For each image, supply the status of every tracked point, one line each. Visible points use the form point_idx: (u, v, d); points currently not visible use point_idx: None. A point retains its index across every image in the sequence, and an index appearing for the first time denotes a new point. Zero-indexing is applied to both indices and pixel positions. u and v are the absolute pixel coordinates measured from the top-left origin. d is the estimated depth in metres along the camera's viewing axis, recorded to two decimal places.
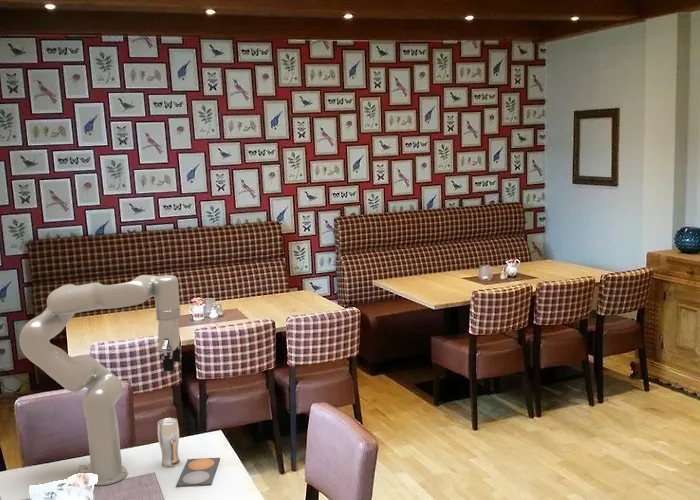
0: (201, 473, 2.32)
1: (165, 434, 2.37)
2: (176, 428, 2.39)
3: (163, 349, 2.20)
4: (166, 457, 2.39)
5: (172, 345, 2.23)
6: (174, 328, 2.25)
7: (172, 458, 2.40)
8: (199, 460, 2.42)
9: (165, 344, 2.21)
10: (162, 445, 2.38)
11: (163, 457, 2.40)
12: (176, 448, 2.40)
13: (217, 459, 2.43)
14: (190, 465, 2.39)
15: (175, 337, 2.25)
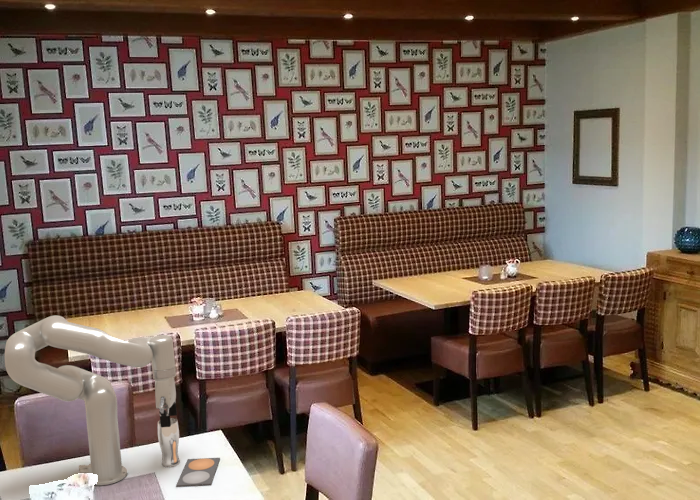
0: (201, 473, 2.32)
1: (165, 434, 2.37)
2: (176, 428, 2.39)
3: (160, 407, 2.31)
4: (166, 457, 2.39)
5: (168, 403, 2.34)
6: (170, 386, 2.36)
7: (172, 458, 2.40)
8: (199, 460, 2.42)
9: (162, 402, 2.32)
10: (162, 445, 2.38)
11: (163, 457, 2.40)
12: (176, 448, 2.40)
13: (217, 459, 2.43)
14: (190, 465, 2.39)
15: (171, 394, 2.36)
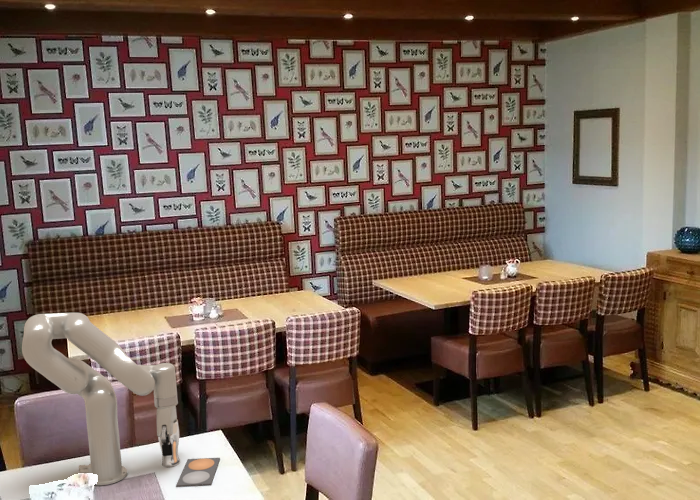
0: (201, 473, 2.32)
1: None
2: (176, 428, 2.39)
3: (162, 439, 2.33)
4: (166, 457, 2.39)
5: (169, 431, 2.36)
6: (171, 414, 2.37)
7: (173, 458, 2.40)
8: (199, 460, 2.42)
9: (163, 433, 2.34)
10: None
11: (163, 457, 2.40)
12: (176, 448, 2.40)
13: (217, 459, 2.43)
14: (190, 465, 2.39)
15: (172, 422, 2.38)
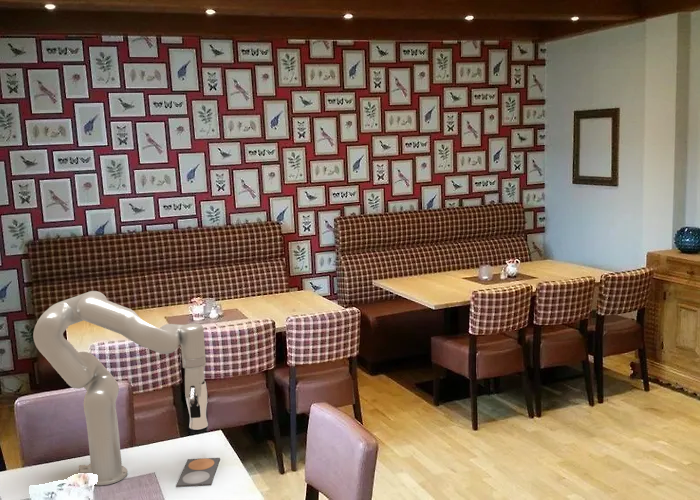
0: (201, 473, 2.32)
1: None
2: (204, 389, 2.34)
3: (190, 399, 2.28)
4: (194, 419, 2.34)
5: (198, 392, 2.31)
6: (200, 375, 2.32)
7: (201, 420, 2.35)
8: (199, 460, 2.42)
9: (192, 394, 2.29)
10: None
11: (191, 419, 2.35)
12: (204, 410, 2.35)
13: (217, 459, 2.43)
14: (190, 465, 2.39)
15: (201, 384, 2.33)
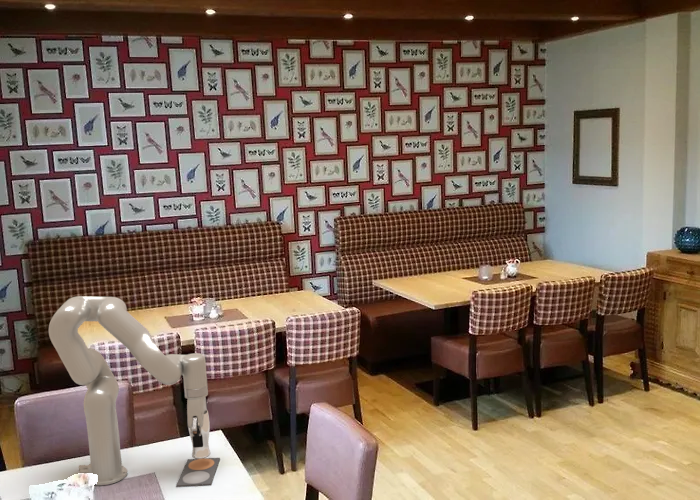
0: (201, 473, 2.32)
1: None
2: (207, 419, 2.36)
3: (193, 430, 2.29)
4: (197, 448, 2.36)
5: (200, 422, 2.32)
6: (202, 405, 2.33)
7: (203, 449, 2.37)
8: (199, 460, 2.42)
9: (194, 424, 2.30)
10: None
11: (194, 449, 2.37)
12: (207, 439, 2.37)
13: (217, 459, 2.43)
14: (190, 465, 2.39)
15: (203, 413, 2.34)
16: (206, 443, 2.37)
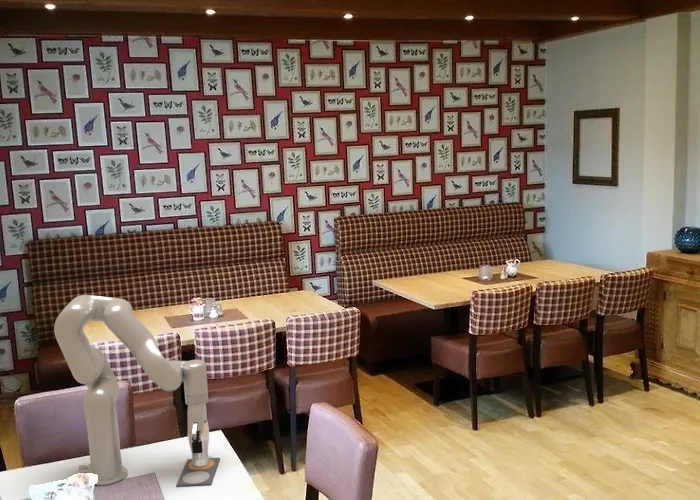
0: (201, 473, 2.32)
1: None
2: (206, 428, 2.36)
3: (193, 434, 2.29)
4: (196, 458, 2.36)
5: (201, 428, 2.33)
6: (202, 411, 2.34)
7: (203, 458, 2.37)
8: None
9: (194, 429, 2.30)
10: None
11: (193, 458, 2.37)
12: (206, 448, 2.37)
13: (217, 459, 2.43)
14: (190, 465, 2.39)
15: (203, 420, 2.34)
16: (205, 452, 2.37)
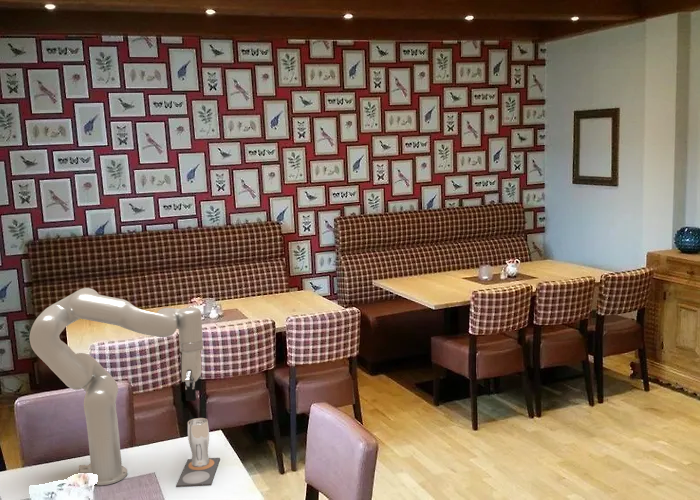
0: (201, 473, 2.32)
1: (195, 435, 2.34)
2: (206, 428, 2.36)
3: (186, 380, 2.27)
4: (196, 458, 2.36)
5: (194, 376, 2.31)
6: (197, 359, 2.32)
7: (203, 458, 2.37)
8: None
9: (188, 375, 2.28)
10: (192, 445, 2.35)
11: (193, 458, 2.37)
12: (206, 448, 2.37)
13: (217, 459, 2.43)
14: (190, 465, 2.39)
15: (197, 368, 2.33)
16: (205, 452, 2.37)
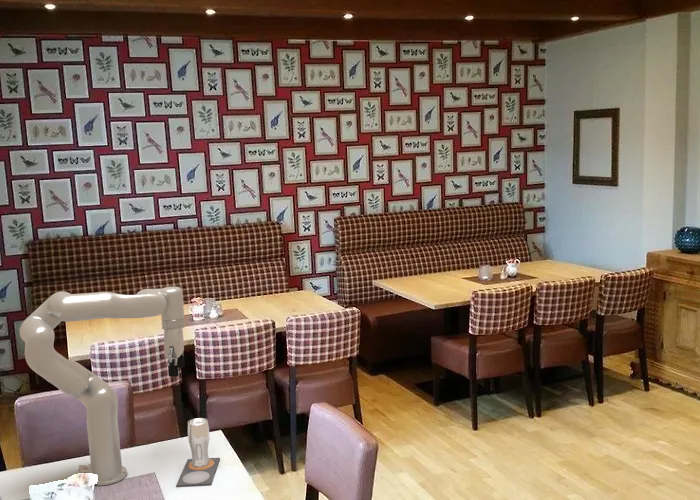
0: (201, 473, 2.32)
1: (195, 435, 2.34)
2: (206, 428, 2.36)
3: (168, 356, 2.34)
4: (196, 458, 2.36)
5: (177, 352, 2.38)
6: (179, 336, 2.39)
7: (203, 458, 2.37)
8: None
9: (170, 351, 2.36)
10: (192, 445, 2.35)
11: (193, 458, 2.37)
12: (206, 448, 2.37)
13: (217, 459, 2.43)
14: (190, 465, 2.39)
15: (180, 345, 2.40)
16: (205, 452, 2.37)
